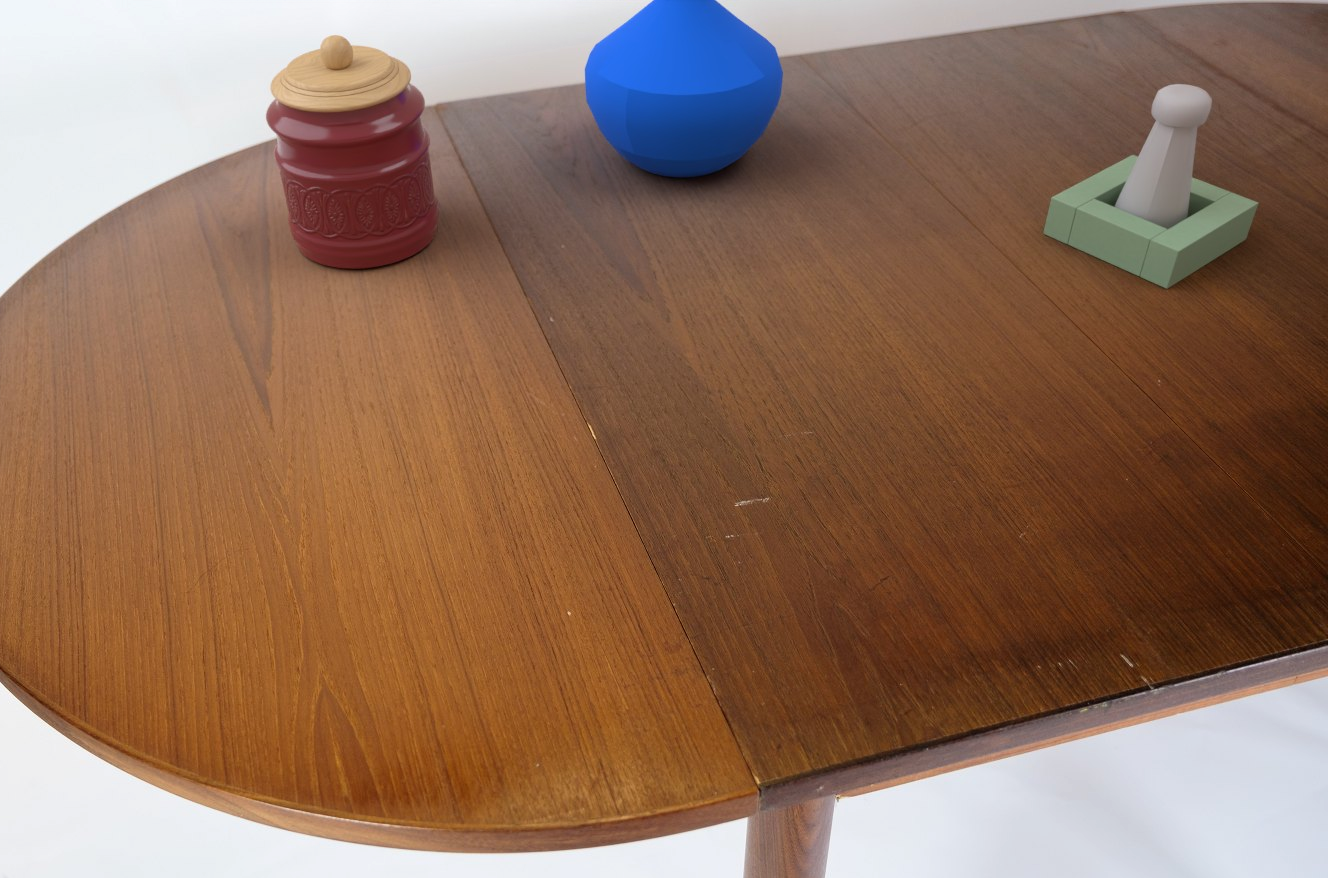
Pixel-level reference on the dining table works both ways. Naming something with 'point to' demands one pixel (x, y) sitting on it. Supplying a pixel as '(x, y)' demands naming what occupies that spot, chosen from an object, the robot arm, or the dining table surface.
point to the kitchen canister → (353, 156)
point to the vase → (683, 87)
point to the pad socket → (1148, 226)
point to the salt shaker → (1167, 157)
